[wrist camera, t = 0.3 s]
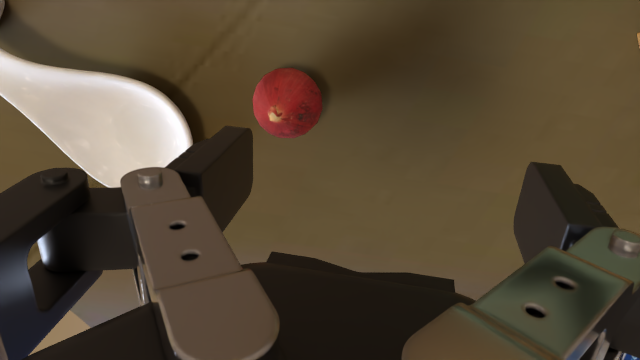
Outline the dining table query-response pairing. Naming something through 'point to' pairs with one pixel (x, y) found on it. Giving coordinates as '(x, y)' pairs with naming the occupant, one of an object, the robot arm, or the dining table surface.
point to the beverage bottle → (629, 357)
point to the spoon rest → (97, 116)
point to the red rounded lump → (287, 103)
